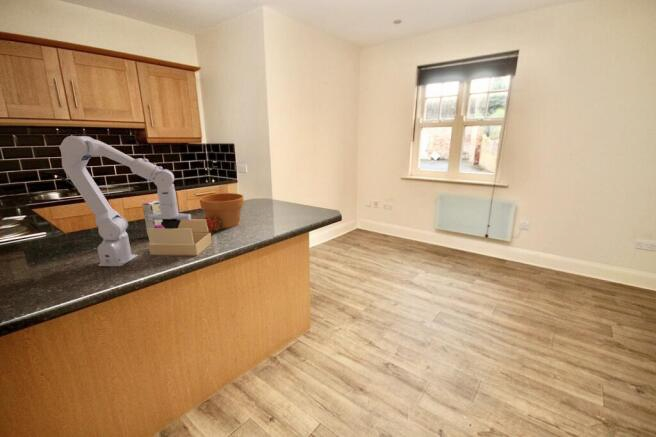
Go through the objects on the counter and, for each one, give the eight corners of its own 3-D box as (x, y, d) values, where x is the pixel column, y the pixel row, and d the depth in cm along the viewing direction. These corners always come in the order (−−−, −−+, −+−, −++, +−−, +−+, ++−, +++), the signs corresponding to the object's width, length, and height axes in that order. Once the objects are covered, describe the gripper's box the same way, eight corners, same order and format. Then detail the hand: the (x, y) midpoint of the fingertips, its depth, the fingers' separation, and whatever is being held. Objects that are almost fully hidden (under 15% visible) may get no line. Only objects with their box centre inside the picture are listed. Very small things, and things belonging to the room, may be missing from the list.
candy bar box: (166, 232, 137) (161, 198, 132) (175, 232, 136) (170, 198, 131) (147, 239, 126) (141, 203, 122) (157, 240, 125) (151, 204, 121)
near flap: (193, 243, 109) (193, 244, 108) (150, 243, 109) (150, 243, 108) (191, 228, 106) (190, 229, 106) (147, 228, 106) (146, 228, 106)
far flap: (169, 231, 122) (170, 231, 122) (208, 232, 122) (208, 231, 122) (165, 219, 118) (166, 218, 119) (205, 219, 118) (205, 219, 119)
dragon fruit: (225, 233, 141) (200, 241, 134) (218, 220, 144) (194, 228, 138) (226, 222, 135) (200, 230, 128) (218, 209, 138) (192, 217, 131)
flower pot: (237, 231, 139) (235, 201, 135) (194, 230, 139) (191, 200, 135) (250, 219, 159) (248, 193, 155) (212, 218, 160) (210, 192, 156)
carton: (197, 255, 110) (195, 244, 109) (150, 255, 110) (148, 244, 108) (211, 242, 123) (210, 232, 122) (169, 242, 123) (168, 232, 122)
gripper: (192, 200, 109) (197, 234, 113) (154, 200, 109) (160, 234, 113) (184, 205, 102) (189, 240, 106) (143, 205, 102) (150, 240, 106)
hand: (173, 237), depth 109 cm, fingers closed, pressing on near flap
